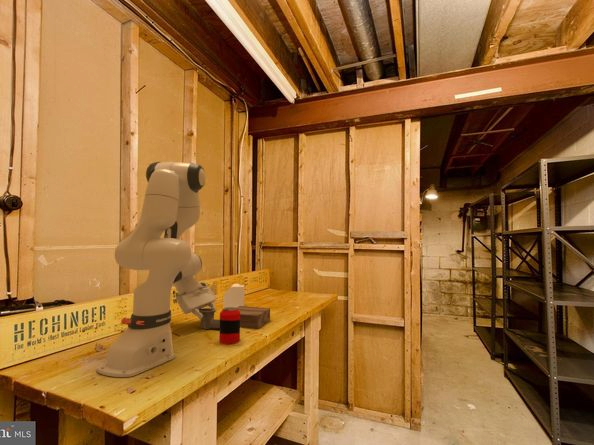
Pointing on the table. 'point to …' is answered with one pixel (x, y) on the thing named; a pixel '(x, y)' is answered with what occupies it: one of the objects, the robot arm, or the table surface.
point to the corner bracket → (234, 296)
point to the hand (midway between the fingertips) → (208, 314)
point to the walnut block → (253, 317)
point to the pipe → (209, 319)
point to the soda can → (229, 325)
